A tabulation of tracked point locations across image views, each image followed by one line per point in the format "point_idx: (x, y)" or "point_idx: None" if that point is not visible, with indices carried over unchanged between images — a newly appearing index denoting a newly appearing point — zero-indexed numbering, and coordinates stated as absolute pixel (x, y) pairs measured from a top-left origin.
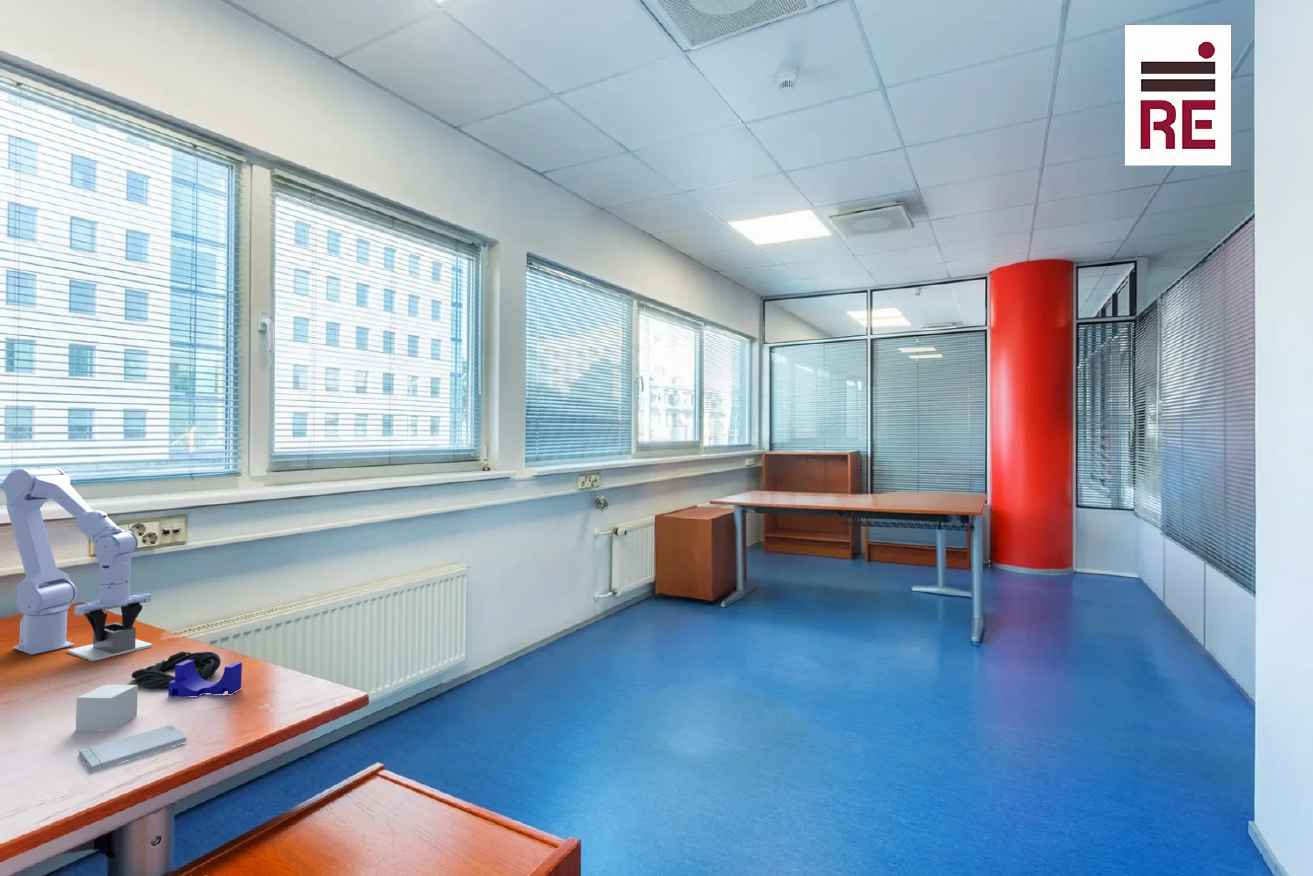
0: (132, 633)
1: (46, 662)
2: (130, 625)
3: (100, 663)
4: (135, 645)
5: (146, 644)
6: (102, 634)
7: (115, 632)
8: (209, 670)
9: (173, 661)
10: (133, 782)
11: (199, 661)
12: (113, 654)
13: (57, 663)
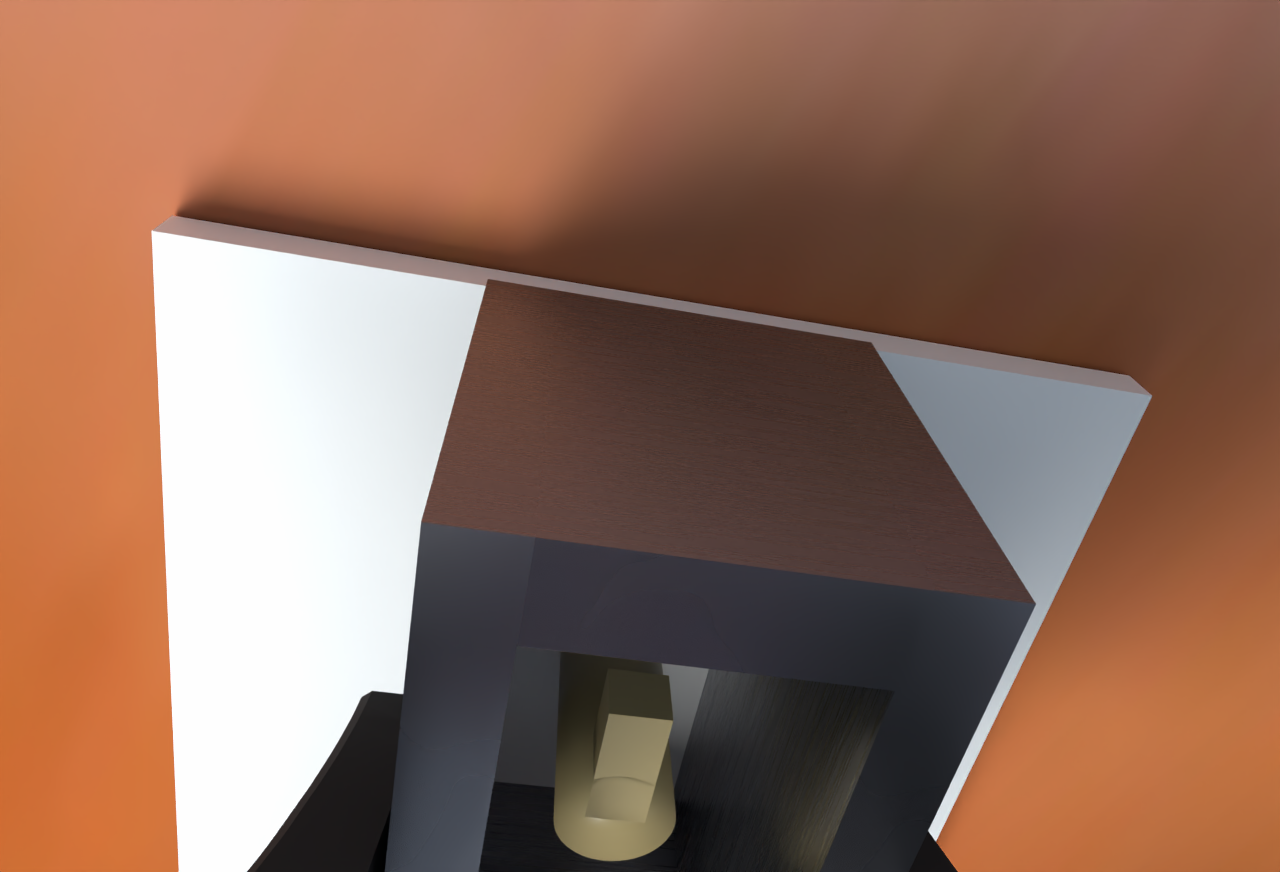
0: (527, 451)
1: (1216, 820)
2: (329, 853)
3: (1214, 135)
4: (374, 442)
5: (230, 323)
6: None
7: (977, 591)
8: None
9: None
10: None
11: None
12: (844, 335)
13: (1246, 693)
